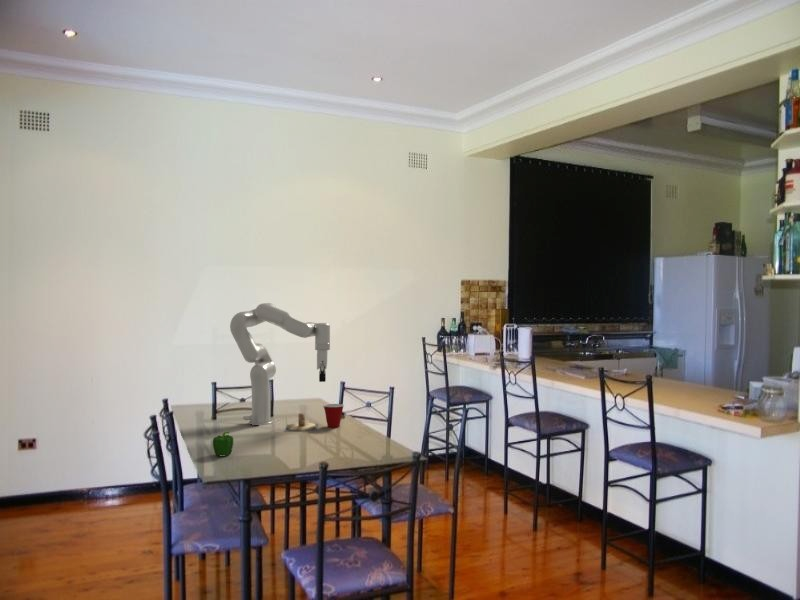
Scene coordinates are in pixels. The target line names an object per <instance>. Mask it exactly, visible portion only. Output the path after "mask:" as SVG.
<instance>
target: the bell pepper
mask: <svg viewBox="0 0 800 600" xmlns="http://www.w3.org/2000/svg"><path fill="white" fill-rule="evenodd" d="M229 434H230V430H229V431H228V430H226V431H224V432H222V435H217V436H215V437H213V439H212V447H213V450H214V454H215V455H216V454H218V455H227V454H228V455H230V454H231V453H232V452H233V451H232V450H233V447H234V437H233V436H232V435H229ZM229 453H230V454H229ZM218 455H217V456H218ZM228 455H227V456H228Z"/></svg>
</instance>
